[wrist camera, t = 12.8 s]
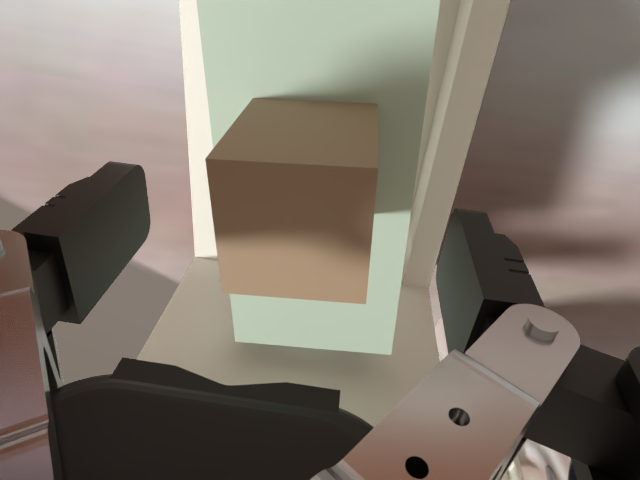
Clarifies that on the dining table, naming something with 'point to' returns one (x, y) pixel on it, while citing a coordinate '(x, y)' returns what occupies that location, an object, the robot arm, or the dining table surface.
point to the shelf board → (329, 71)
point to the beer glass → (525, 446)
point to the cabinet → (421, 249)
